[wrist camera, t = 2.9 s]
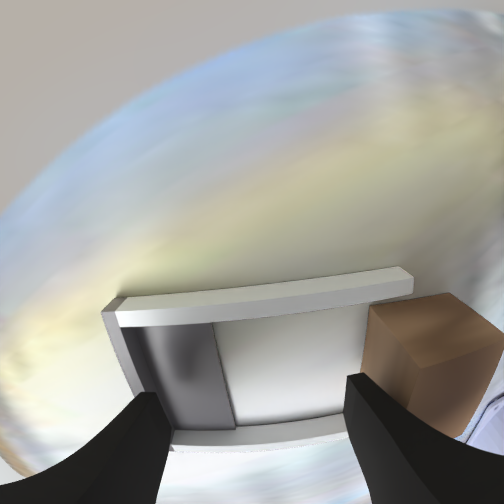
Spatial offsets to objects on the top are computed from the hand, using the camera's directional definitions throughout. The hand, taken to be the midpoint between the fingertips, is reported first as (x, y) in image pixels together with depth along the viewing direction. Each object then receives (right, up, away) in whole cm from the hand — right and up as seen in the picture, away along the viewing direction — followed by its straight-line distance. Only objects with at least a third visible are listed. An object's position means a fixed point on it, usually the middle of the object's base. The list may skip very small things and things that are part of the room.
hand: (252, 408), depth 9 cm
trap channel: (+1, +1, +2) cm, 2 cm away
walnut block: (+7, +1, +2) cm, 7 cm away
